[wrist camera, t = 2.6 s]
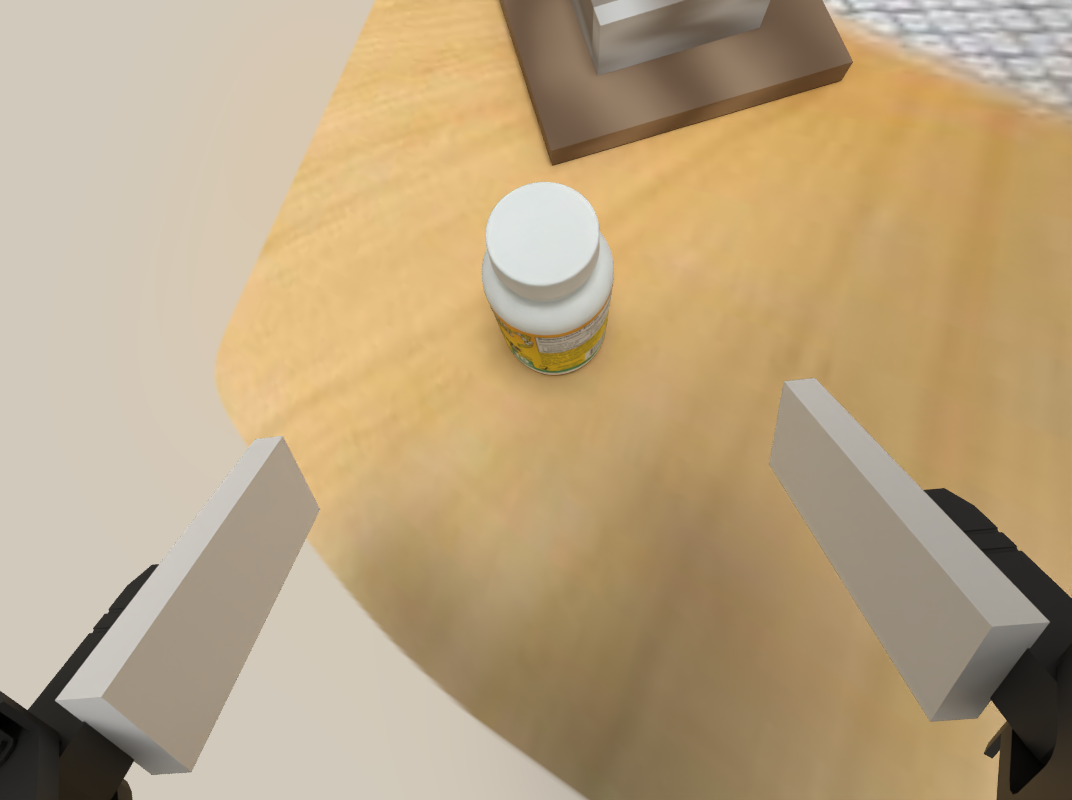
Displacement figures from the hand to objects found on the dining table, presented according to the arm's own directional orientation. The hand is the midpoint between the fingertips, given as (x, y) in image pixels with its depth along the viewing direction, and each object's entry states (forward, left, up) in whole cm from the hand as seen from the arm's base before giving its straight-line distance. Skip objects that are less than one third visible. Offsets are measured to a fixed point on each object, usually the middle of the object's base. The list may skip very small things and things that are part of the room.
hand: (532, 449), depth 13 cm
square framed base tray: (-13, -25, -12) cm, 31 cm away
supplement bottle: (-2, -7, -12) cm, 14 cm away
